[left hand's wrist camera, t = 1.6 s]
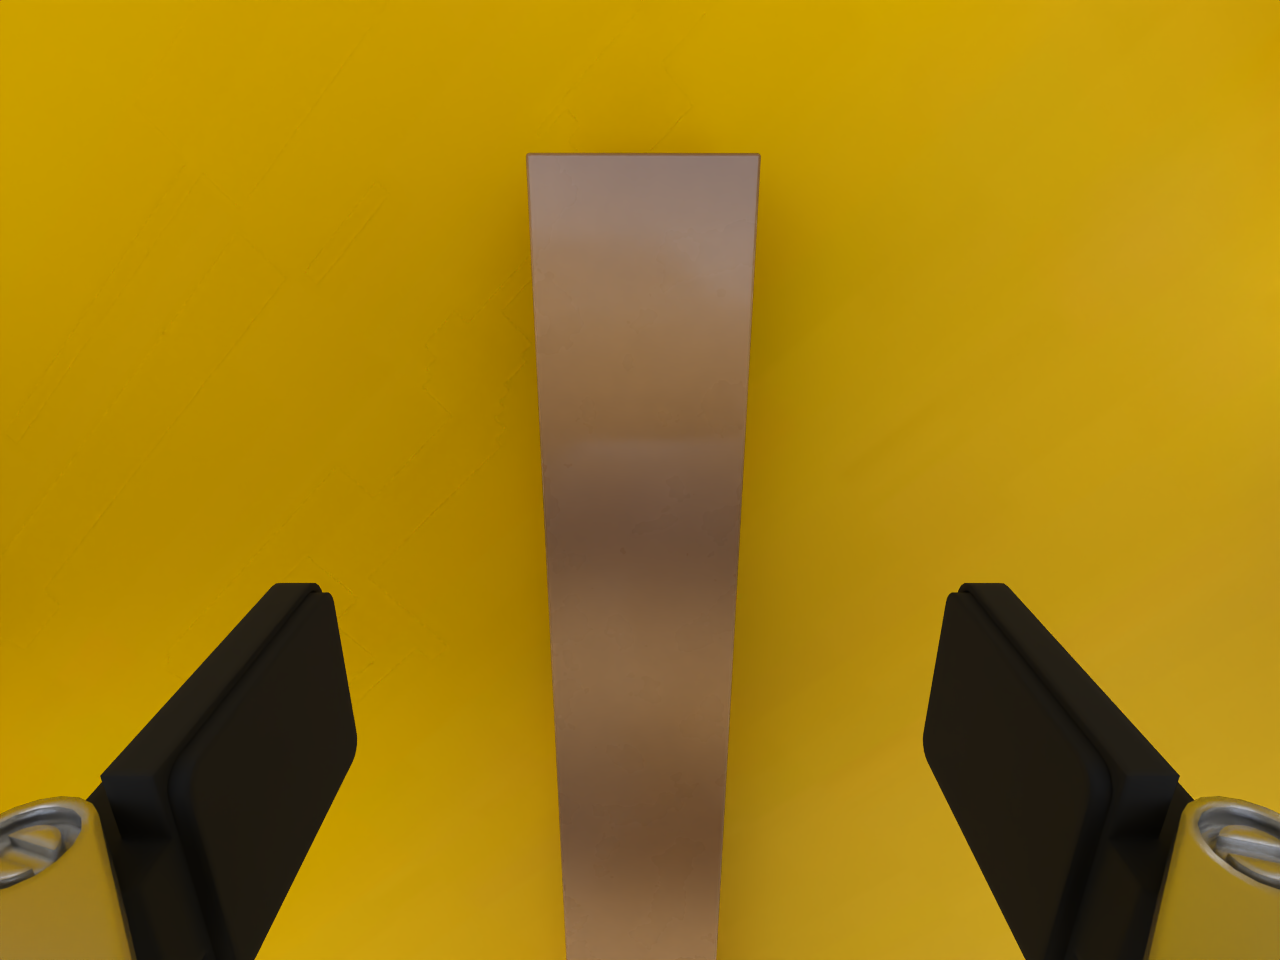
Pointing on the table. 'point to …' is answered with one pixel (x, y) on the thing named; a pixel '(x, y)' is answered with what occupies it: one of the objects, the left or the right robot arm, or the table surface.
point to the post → (642, 526)
